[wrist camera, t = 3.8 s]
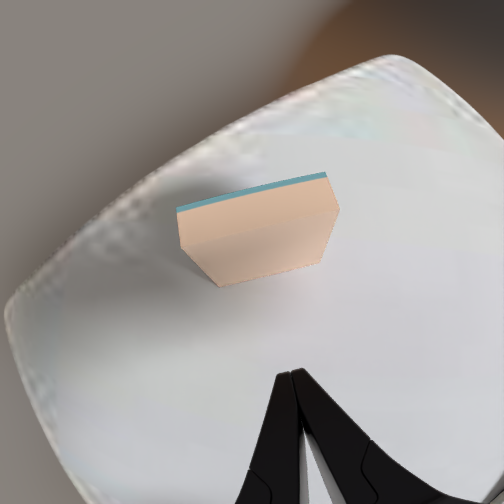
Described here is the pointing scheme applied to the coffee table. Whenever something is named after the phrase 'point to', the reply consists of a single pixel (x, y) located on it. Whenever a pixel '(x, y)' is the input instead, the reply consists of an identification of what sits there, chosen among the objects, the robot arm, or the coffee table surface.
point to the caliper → (498, 499)
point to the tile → (259, 229)
